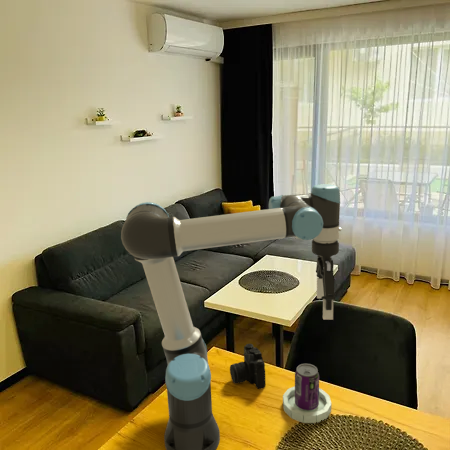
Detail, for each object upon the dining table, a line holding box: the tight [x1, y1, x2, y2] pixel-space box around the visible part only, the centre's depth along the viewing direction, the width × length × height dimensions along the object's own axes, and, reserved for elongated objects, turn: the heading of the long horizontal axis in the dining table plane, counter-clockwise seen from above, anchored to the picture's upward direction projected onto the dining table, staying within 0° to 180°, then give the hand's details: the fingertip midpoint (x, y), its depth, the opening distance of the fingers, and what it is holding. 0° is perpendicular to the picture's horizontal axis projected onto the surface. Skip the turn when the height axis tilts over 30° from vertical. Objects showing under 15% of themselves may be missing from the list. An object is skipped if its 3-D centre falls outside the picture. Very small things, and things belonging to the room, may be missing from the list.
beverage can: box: [294, 363, 320, 410], centre depth 130 cm, size 7×7×12 cm
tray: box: [282, 385, 332, 424], centre depth 131 cm, size 14×14×2 cm
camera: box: [229, 343, 266, 390], centre depth 145 cm, size 14×11×10 cm
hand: (324, 308), depth 128 cm, fingers open, 13 cm apart
